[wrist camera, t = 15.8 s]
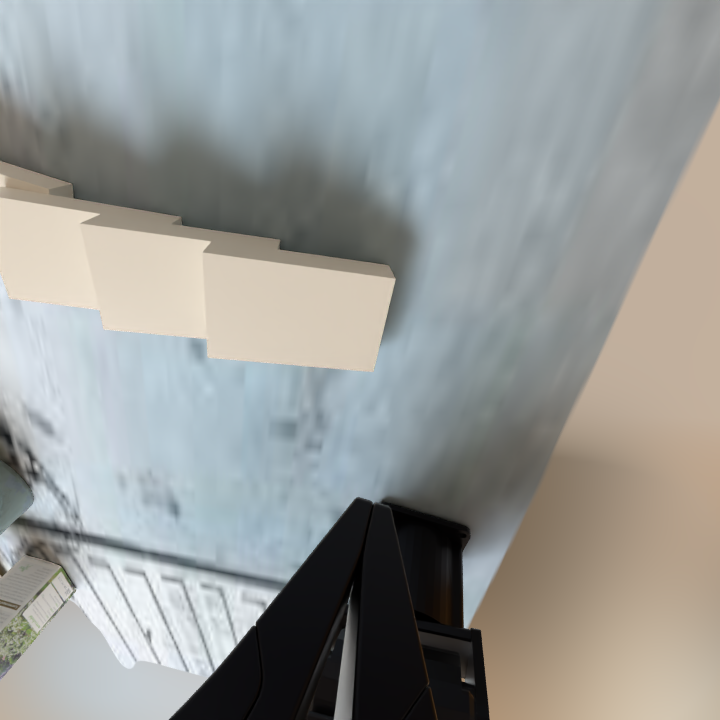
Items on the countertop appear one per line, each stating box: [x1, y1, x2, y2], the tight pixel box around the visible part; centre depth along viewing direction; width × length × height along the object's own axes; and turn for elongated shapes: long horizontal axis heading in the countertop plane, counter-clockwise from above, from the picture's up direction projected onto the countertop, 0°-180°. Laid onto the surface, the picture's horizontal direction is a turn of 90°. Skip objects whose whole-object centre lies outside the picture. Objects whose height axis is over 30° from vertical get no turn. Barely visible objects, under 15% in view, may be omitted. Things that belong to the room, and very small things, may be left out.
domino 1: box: [202, 240, 396, 372], centre depth 17 cm, size 2×5×8 cm
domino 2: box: [80, 214, 280, 339], centre depth 18 cm, size 2×5×8 cm
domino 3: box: [0, 187, 182, 310], centre depth 19 cm, size 2×5×8 cm
